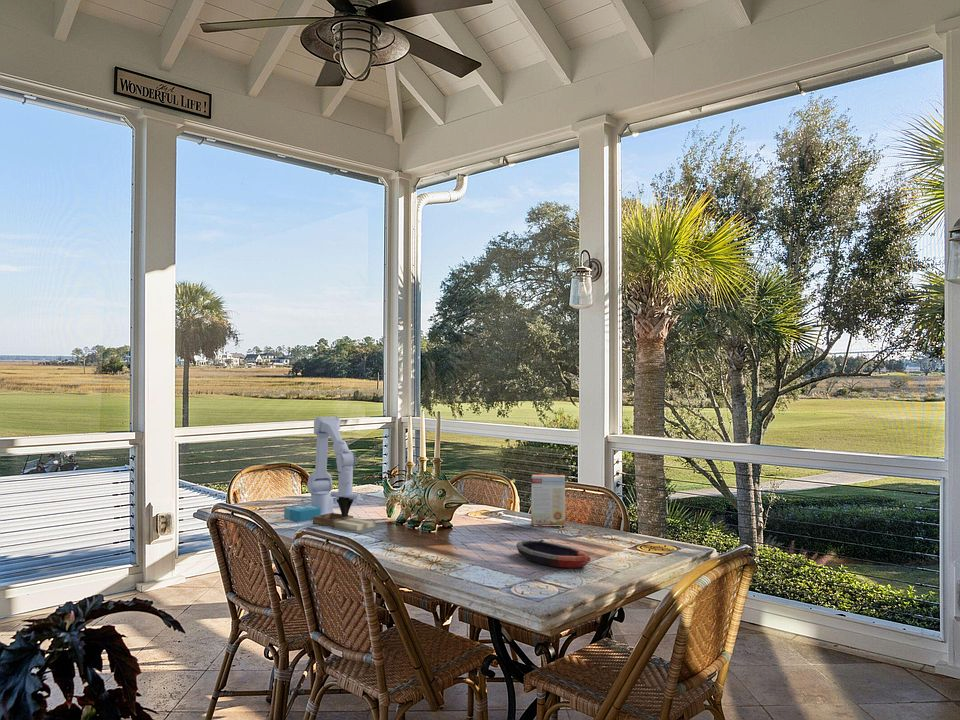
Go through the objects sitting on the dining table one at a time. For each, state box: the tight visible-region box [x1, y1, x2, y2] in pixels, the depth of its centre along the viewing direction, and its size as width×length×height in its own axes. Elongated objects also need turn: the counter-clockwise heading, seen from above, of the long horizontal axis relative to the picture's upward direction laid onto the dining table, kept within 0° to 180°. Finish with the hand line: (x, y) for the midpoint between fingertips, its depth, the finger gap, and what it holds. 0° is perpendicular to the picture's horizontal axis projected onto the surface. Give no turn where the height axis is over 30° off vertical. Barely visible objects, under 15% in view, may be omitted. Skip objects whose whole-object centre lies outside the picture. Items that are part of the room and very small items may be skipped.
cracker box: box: [530, 474, 566, 526], centre depth 307 cm, size 14×6×21 cm, turn 84°
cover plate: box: [335, 517, 377, 531], centre depth 297 cm, size 11×12×2 cm
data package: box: [283, 504, 321, 523], centre depth 314 cm, size 12×4×12 cm
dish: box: [515, 539, 591, 569], centre depth 248 cm, size 16×31×5 cm, turn 40°
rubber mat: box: [330, 523, 389, 535], centre depth 296 cm, size 16×16×1 cm
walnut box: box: [312, 512, 354, 528], centre depth 304 cm, size 11×12×3 cm
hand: (344, 516), depth 300 cm, fingers closed
